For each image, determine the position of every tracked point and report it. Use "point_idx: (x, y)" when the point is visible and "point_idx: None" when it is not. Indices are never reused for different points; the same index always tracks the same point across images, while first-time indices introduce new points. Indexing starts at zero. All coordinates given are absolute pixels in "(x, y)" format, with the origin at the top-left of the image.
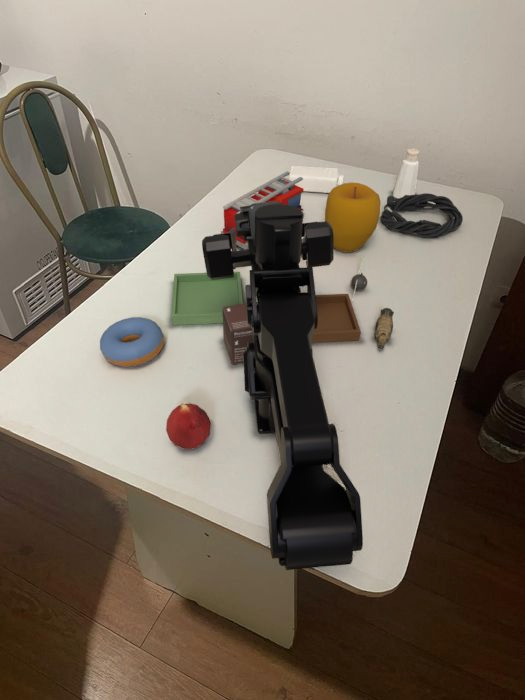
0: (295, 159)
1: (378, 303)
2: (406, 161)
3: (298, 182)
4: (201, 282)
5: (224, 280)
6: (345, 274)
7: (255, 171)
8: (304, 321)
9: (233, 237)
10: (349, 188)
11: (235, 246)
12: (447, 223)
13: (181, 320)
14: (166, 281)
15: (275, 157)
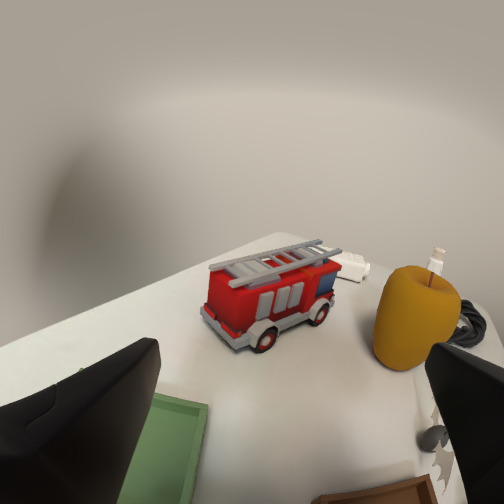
0: None
1: (456, 471)
2: (434, 259)
3: None
4: None
5: (172, 411)
6: (404, 415)
7: (270, 245)
8: None
9: (67, 442)
10: (418, 273)
11: (115, 463)
12: (479, 330)
13: None
14: (75, 372)
15: (291, 238)
